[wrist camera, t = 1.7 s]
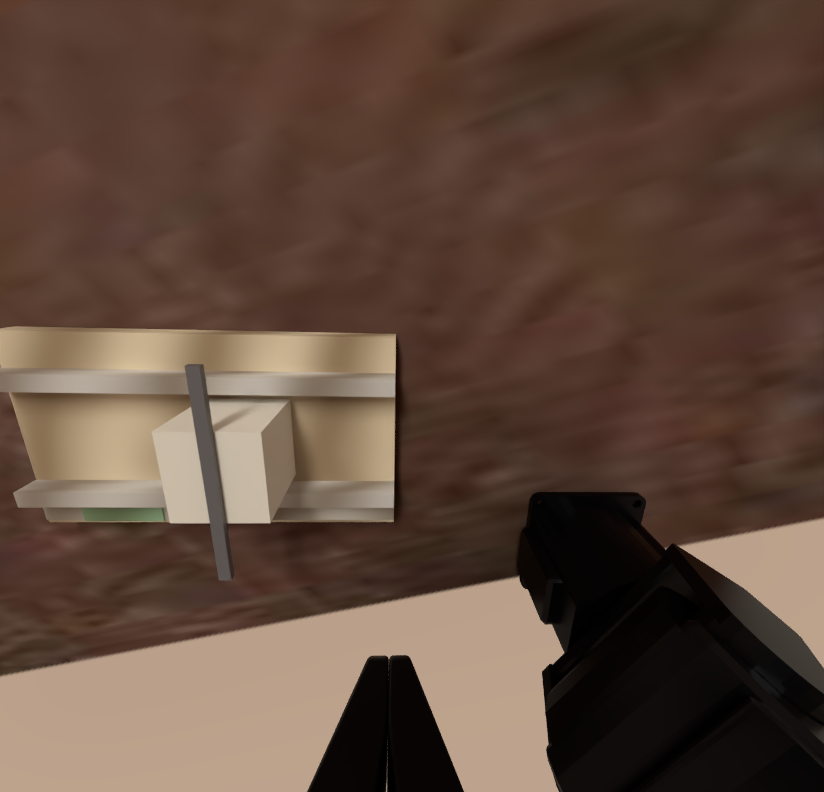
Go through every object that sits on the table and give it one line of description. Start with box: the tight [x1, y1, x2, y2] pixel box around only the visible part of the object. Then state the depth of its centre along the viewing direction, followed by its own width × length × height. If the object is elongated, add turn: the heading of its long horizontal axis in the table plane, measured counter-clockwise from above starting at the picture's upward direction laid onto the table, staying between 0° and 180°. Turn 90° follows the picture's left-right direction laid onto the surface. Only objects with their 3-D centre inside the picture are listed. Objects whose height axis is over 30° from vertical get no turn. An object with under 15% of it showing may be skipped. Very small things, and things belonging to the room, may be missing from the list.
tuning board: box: [0, 327, 396, 522], centre depth 19 cm, size 18×10×2 cm, turn 89°
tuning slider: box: [152, 364, 296, 581], centre depth 17 cm, size 4×9×4 cm, turn 179°
